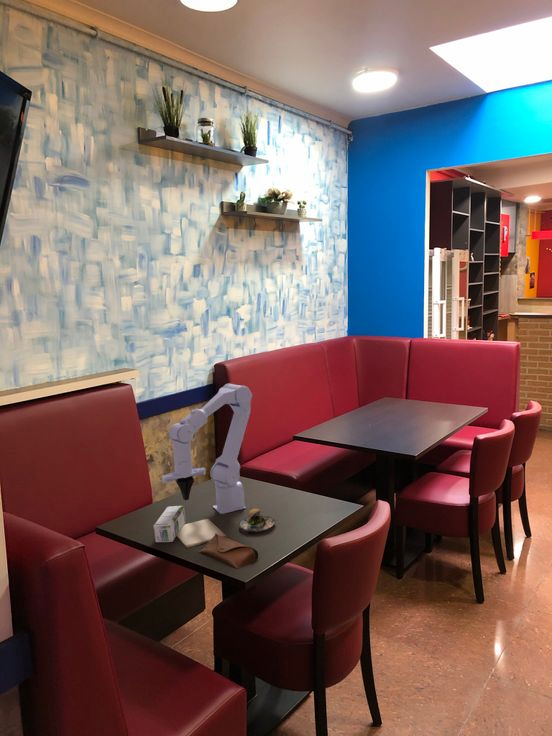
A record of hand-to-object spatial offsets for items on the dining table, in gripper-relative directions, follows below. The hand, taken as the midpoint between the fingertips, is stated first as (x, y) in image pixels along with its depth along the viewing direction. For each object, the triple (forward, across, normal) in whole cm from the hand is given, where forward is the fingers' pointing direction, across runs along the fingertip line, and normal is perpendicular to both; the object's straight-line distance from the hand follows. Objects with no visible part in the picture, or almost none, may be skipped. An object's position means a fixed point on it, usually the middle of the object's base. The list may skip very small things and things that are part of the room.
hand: (185, 499), depth 194 cm
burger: (+9, -18, +16) cm, 26 cm away
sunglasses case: (+9, -2, +29) cm, 30 cm away
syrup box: (+5, +3, -2) cm, 6 cm away
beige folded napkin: (+8, 0, +10) cm, 13 cm away
